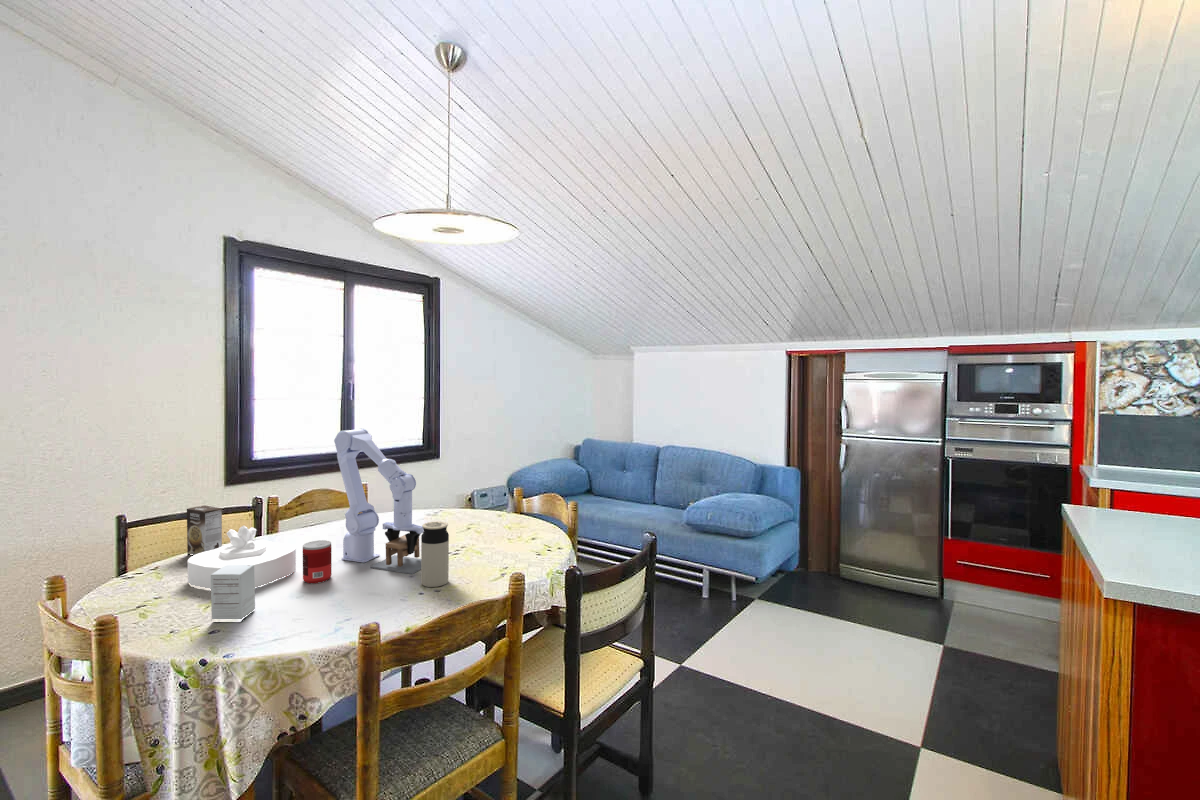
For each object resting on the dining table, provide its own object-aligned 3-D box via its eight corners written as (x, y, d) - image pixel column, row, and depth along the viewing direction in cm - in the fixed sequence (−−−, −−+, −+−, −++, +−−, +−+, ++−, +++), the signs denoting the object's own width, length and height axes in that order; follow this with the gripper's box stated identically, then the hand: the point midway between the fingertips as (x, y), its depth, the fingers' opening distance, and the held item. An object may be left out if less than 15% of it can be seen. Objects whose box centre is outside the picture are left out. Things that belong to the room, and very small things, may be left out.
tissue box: (173, 585, 172) (172, 531, 171) (248, 560, 195) (248, 512, 194) (237, 597, 164) (237, 540, 163) (308, 569, 187) (307, 519, 187)
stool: (405, 554, 198) (405, 534, 197) (419, 556, 196) (419, 536, 196) (386, 564, 188) (385, 543, 188) (400, 566, 187) (400, 545, 186)
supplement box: (226, 611, 154) (226, 564, 153) (256, 611, 154) (255, 564, 154) (210, 623, 146) (209, 574, 146) (241, 623, 147) (240, 573, 146)
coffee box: (186, 555, 198) (185, 508, 197) (205, 550, 204) (204, 504, 203) (204, 559, 195) (203, 511, 194) (223, 553, 201) (222, 507, 200)
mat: (370, 567, 189) (370, 566, 189) (394, 556, 200) (394, 555, 200) (412, 574, 184) (412, 572, 184) (434, 562, 195) (434, 560, 195)
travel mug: (424, 589, 171) (424, 529, 171) (419, 580, 178) (419, 522, 178) (451, 585, 175) (451, 526, 174) (445, 576, 182) (445, 520, 181)
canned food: (337, 576, 181) (337, 541, 180) (316, 585, 173) (316, 549, 173) (317, 573, 183) (317, 538, 183) (296, 582, 176) (296, 546, 175)
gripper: (376, 512, 190) (376, 553, 190) (414, 516, 185) (414, 558, 186) (390, 507, 196) (390, 547, 197) (427, 511, 192) (427, 552, 193)
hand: (402, 552), depth 192 cm, fingers closed on stool, 6 cm apart
